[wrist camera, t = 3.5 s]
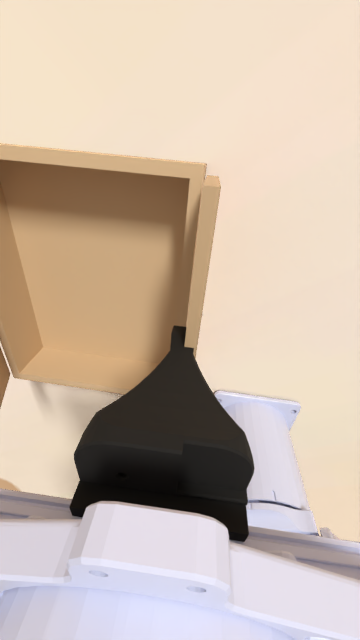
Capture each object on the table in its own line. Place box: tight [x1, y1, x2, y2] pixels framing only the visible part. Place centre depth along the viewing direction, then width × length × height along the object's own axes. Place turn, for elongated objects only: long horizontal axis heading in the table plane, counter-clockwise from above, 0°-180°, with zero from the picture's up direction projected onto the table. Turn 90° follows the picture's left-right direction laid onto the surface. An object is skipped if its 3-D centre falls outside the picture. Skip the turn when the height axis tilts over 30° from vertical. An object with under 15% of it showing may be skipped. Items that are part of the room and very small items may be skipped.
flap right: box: [184, 175, 221, 357], centre depth 14 cm, size 15×6×1 cm
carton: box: [0, 143, 207, 394], centre depth 18 cm, size 16×13×4 cm
